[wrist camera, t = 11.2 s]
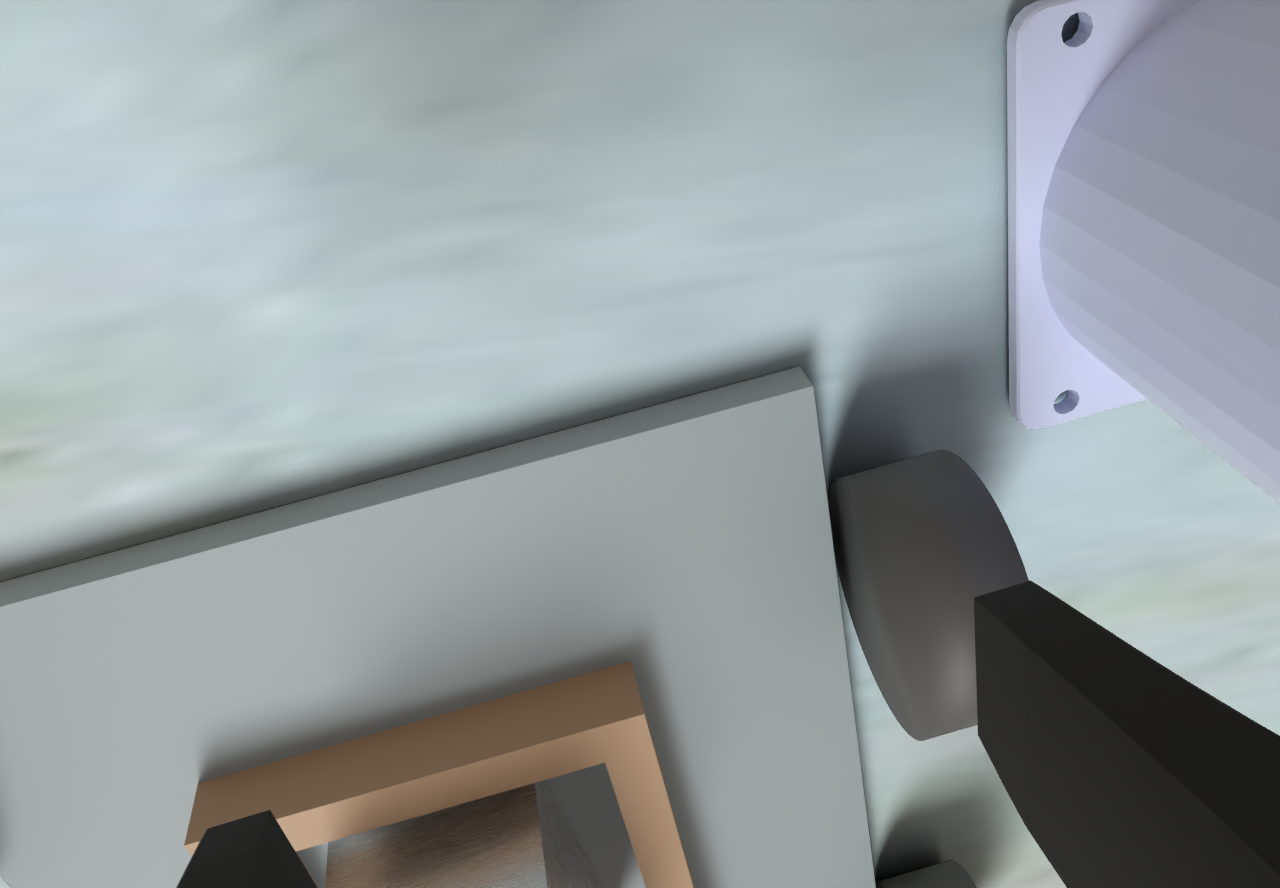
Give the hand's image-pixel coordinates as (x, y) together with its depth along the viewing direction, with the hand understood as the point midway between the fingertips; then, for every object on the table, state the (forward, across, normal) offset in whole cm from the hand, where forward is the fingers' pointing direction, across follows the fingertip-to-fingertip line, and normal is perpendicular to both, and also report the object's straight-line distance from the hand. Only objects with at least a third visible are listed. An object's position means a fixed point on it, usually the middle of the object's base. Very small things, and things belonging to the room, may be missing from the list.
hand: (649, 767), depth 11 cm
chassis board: (+10, +4, +12) cm, 16 cm away
